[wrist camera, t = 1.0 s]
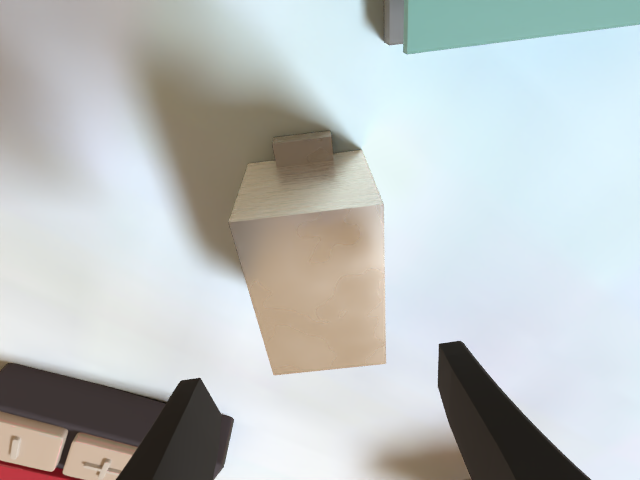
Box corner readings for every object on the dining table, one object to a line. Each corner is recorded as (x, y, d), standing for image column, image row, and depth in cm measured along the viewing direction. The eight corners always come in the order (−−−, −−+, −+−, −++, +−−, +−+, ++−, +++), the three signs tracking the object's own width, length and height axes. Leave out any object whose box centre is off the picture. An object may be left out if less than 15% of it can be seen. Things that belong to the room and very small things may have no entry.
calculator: (-40, 411, 19) (223, 478, 23) (17, 348, 23) (236, 415, 27) (-41, 494, 25) (174, 537, 28) (6, 432, 28) (191, 478, 32)
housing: (361, 126, 15) (383, 175, 11) (369, 301, 21) (385, 377, 16) (242, 141, 15) (219, 194, 11) (282, 310, 21) (277, 388, 17)
